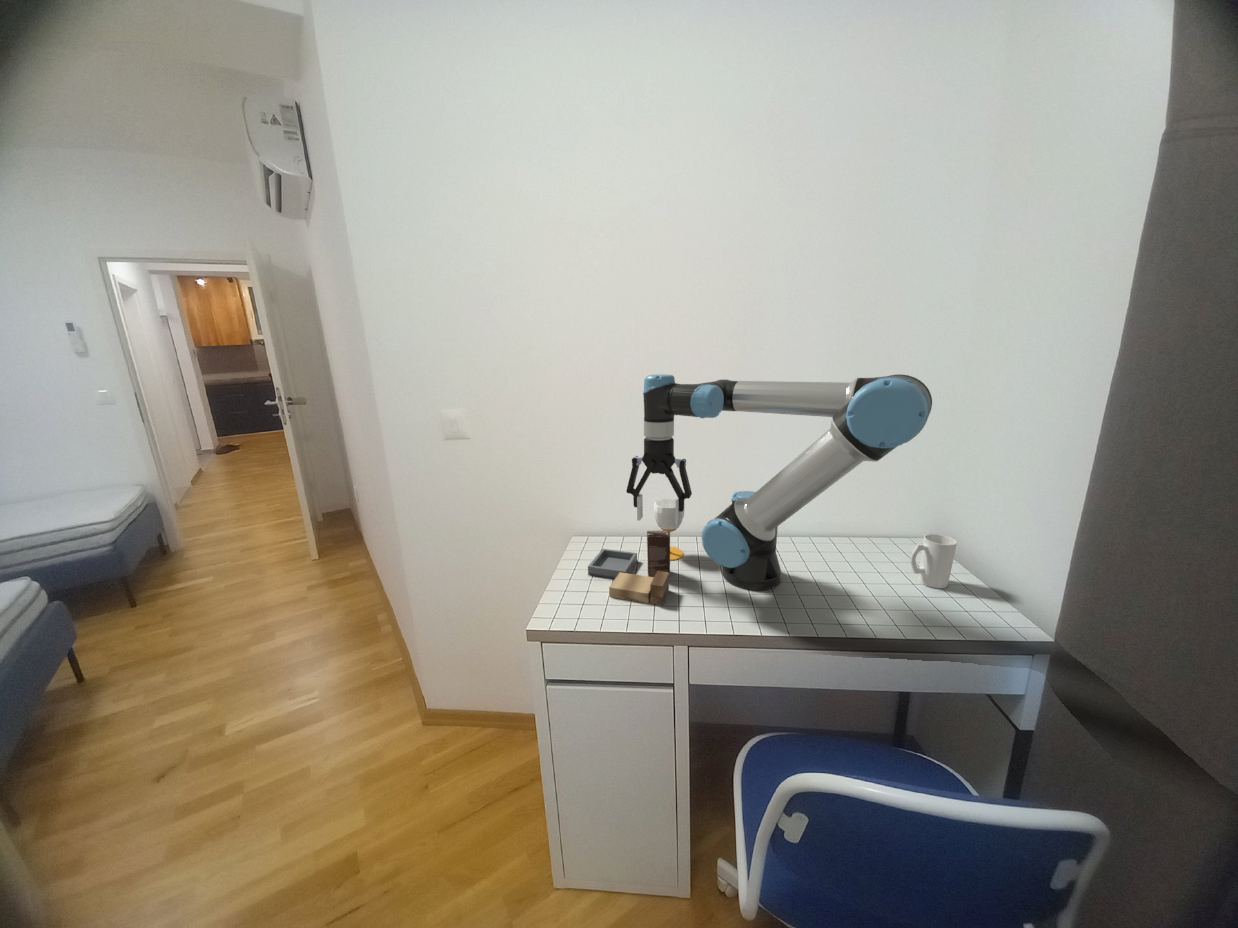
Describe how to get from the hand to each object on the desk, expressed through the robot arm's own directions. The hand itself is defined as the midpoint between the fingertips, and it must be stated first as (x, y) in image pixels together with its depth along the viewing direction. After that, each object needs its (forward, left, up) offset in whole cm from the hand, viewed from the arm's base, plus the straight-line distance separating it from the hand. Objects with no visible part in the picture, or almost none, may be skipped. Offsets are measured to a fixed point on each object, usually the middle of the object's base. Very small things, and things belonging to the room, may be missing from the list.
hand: (658, 520), depth 118 cm
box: (0, 0, -16) cm, 16 cm away
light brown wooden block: (+4, +11, -16) cm, 20 cm away
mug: (-67, -15, -16) cm, 70 cm away
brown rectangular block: (-3, +11, -16) cm, 19 cm away
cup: (0, -13, -16) cm, 20 cm away
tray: (+13, 0, -16) cm, 20 cm away
